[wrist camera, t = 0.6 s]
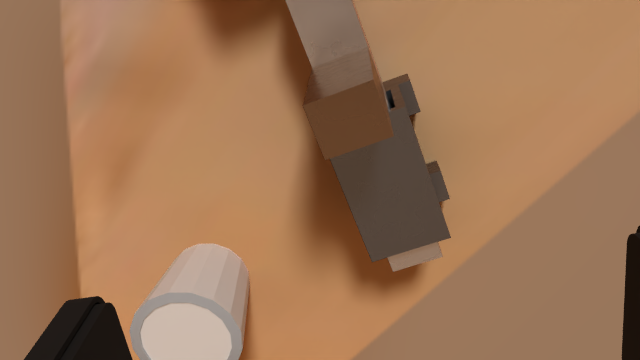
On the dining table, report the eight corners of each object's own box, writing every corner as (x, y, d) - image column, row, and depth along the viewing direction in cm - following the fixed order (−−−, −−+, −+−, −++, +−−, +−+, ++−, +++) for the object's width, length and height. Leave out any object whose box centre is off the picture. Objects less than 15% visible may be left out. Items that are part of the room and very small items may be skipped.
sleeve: (407, 73, 35) (418, 101, 30) (445, 187, 38) (463, 233, 32) (314, 107, 36) (308, 141, 31) (358, 216, 39) (360, 265, 33)
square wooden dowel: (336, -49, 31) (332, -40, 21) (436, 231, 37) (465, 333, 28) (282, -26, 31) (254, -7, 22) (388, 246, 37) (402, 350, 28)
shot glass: (264, 244, 40) (249, 303, 34) (252, 325, 43) (235, 394, 37) (165, 227, 40) (131, 284, 34) (159, 309, 43) (126, 376, 37)
